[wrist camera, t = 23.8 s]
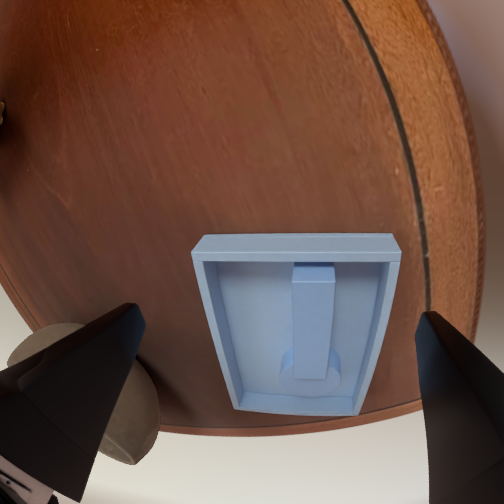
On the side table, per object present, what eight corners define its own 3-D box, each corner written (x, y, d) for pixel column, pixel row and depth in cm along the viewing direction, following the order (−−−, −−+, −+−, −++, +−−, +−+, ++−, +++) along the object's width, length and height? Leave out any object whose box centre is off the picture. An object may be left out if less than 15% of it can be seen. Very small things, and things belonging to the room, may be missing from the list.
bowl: (58, 352, 32) (22, 399, 23) (51, 266, 23) (-16, 328, 14) (159, 417, 33) (133, 474, 24) (198, 362, 24) (157, 457, 15)
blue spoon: (274, 253, 16) (266, 281, 14) (353, 253, 15) (359, 281, 13) (282, 378, 22) (277, 406, 19) (337, 380, 21) (337, 408, 18)
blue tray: (204, 234, 17) (190, 252, 15) (392, 232, 15) (402, 252, 13) (239, 390, 25) (233, 409, 23) (357, 395, 22) (358, 415, 20)
